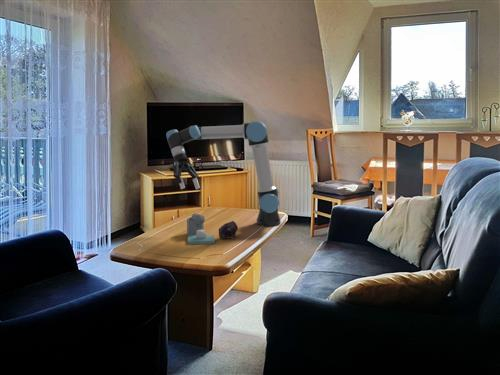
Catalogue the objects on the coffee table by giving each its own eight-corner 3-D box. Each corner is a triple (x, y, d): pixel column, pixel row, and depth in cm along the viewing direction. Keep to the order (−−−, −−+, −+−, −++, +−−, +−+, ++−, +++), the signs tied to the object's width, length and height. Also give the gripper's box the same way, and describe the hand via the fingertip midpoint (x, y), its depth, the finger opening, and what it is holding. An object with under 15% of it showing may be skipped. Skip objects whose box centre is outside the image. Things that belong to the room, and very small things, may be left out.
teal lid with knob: (213, 237, 244) (213, 227, 243) (214, 243, 232) (214, 233, 231) (188, 238, 242) (187, 228, 241) (187, 244, 230) (187, 234, 230)
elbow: (184, 233, 251) (183, 212, 250) (198, 231, 257) (198, 210, 255) (193, 237, 243) (193, 216, 241) (207, 235, 249) (207, 214, 247)
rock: (216, 240, 243) (231, 242, 238) (214, 225, 241) (229, 228, 235) (229, 232, 253) (243, 235, 247) (227, 218, 250) (242, 220, 245)
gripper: (188, 159, 270) (199, 191, 266) (160, 156, 249) (171, 191, 244) (197, 154, 267) (208, 186, 262) (169, 150, 245) (181, 185, 241)
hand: (190, 188), depth 253 cm, fingers open, 13 cm apart
